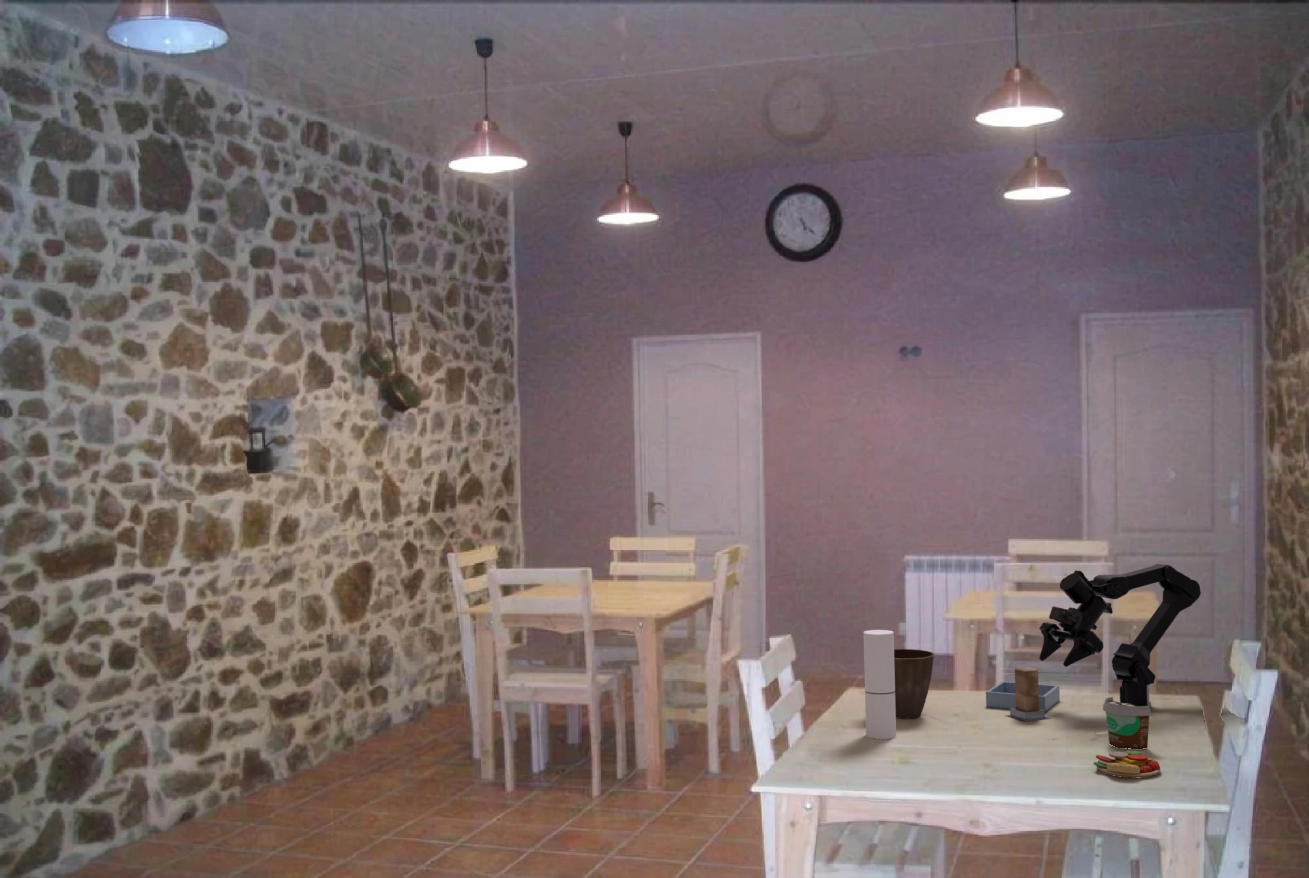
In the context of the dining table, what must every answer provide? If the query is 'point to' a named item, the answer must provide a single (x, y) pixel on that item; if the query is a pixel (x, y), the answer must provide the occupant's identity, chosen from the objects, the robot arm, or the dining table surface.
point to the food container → (1127, 724)
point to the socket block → (1027, 715)
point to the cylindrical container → (879, 684)
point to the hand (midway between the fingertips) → (1052, 662)
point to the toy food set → (1127, 764)
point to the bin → (1006, 698)
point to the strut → (1026, 689)
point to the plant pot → (911, 681)
